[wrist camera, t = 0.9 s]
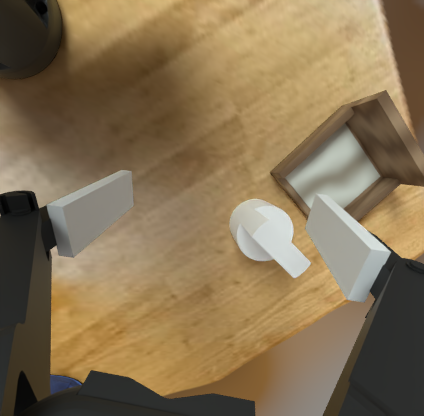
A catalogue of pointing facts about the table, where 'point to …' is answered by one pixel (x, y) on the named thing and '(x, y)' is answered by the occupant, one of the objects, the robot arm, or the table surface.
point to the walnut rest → (354, 158)
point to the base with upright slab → (266, 235)
